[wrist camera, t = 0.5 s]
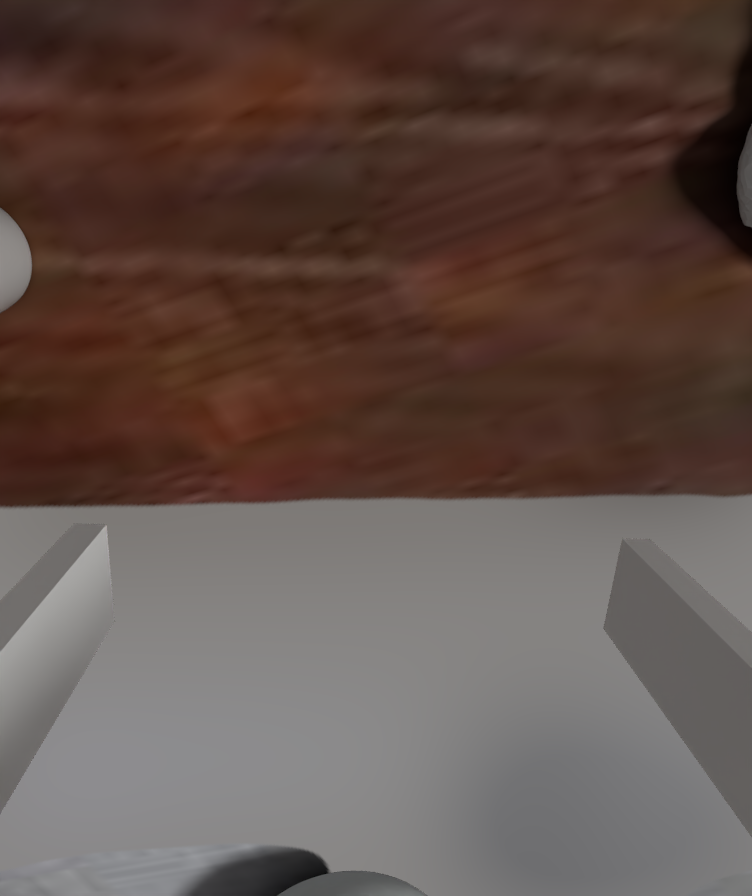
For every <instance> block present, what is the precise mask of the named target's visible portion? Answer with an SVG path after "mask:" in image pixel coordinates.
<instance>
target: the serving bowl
mask: <svg viewBox="0 0 752 896" xmlns="http://www.w3.org/2000/svg"><path fill="white" fill-rule="evenodd" d="M277 896H427V895H426V894H425V893H423V892H422V891H420V890H419V889H417V888H416V887H414V886H412V885H410V884H409V883H407V882H404V881H402V880H400V879H397V878H395V877H391V876H388V875H384V874H379V873H375V872H367V871H342V872H334V873H329V874H324V875H320V876H317V877H313V878H310V879H308V880H305V881H302V882H300V883H298V884H296V885H294V886H292V887H290V888H288V889H287V890H285V891H283V892H282V893H280V894H279V895H277Z"/></svg>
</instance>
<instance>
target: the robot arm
mask: <svg viewBox="0 0 752 896" xmlns="http://www.w3.org/2000/svg"><path fill="white" fill-rule="evenodd" d="M114 621H115V620H114V608H113V597H112V584H111V572H110V561H109V549H108V536H107V525H106V524H73V525H72V526H71V527H70V528H69V529H68V531H67V532H66V533H65V534H64V535H63V536H62V537H61V538H60V539H59V540H58V541H57V542H56V543H55V544H54V545H53V546H52V547H51V548H50V549H49V550H48V551H47V553H45V555H44V556H43V557H42V558H41V559H40V560H39V561H38V562H37V563H36V564H35V565H34V566H33V567H32V568H31V569H30V570H29V571H28V572H27V573H26V574H25V575H24V577H23V578H22V579H21V580H20V581H19V582H18V583H17V584H16V585H15V586H14V587H13V588H12V589H11V590H10V591H9V592H8V593H7V594H6V595H5V596H4V597H3V599H2V600H1V601H0V813H1V812H2V810H3V808H4V807H5V805H6V803H7V801H8V800H9V798H10V796H11V795H12V793H13V791H14V790H15V788H16V786H17V785H18V783H19V781H20V780H21V778H22V776H23V775H24V773H25V771H26V769H27V768H28V766H29V764H30V763H31V761H32V759H33V758H34V756H35V754H36V753H37V751H38V749H39V748H40V746H41V744H42V743H43V741H44V739H45V738H46V736H47V734H48V732H49V731H50V729H51V727H52V726H53V724H54V722H55V720H56V719H57V717H58V716H59V714H60V712H61V711H62V709H63V707H64V706H65V704H66V702H67V700H68V699H69V697H70V695H71V694H72V692H73V690H74V689H75V687H76V685H77V684H78V682H79V680H80V679H81V677H82V675H83V674H84V672H85V670H86V669H87V667H88V665H89V663H90V662H91V660H92V658H93V657H94V655H95V653H96V652H97V650H98V648H99V647H100V645H101V643H102V642H103V640H104V638H105V637H106V635H107V633H108V631H109V630H110V628H111V626H112V625H113V623H114ZM604 630H605V631H606V633H607V634H608V635H609V637H610V638H611V640H612V641H613V642H614V644H615V645H616V647H617V648H618V650H619V651H620V652H621V654H622V655H623V657H624V658H625V659H626V661H627V662H628V664H629V665H630V666H631V668H632V669H633V671H634V672H635V674H636V675H637V676H638V678H639V679H640V681H641V682H642V683H643V685H644V686H645V688H646V689H647V690H648V692H649V693H650V694H651V696H652V697H653V699H654V700H655V702H656V703H657V704H658V706H659V707H660V709H661V710H662V711H663V713H664V714H665V716H666V717H667V719H668V720H669V721H670V723H671V724H672V726H673V727H674V728H675V730H676V731H677V733H678V734H679V735H680V737H681V738H682V740H683V741H684V743H685V744H686V745H687V747H688V748H689V750H690V751H691V752H692V754H693V755H694V757H695V758H696V759H697V760H698V762H699V764H701V766H702V768H703V769H704V770H705V772H706V773H707V775H708V776H709V778H710V779H711V781H712V782H713V783H714V785H715V786H716V788H717V789H718V790H719V792H720V793H721V794H722V796H723V797H724V799H725V800H726V802H727V803H728V804H729V806H730V807H731V809H732V810H733V811H734V813H735V814H736V816H737V817H738V818H739V820H740V821H741V823H742V824H743V826H744V827H745V828H746V830H747V831H748V833H749V834H750V835H751V837H752V632H751V631H750V630H748V629H747V628H746V627H745V626H744V625H743V624H742V623H741V622H740V621H738V619H737V618H735V617H734V616H733V615H732V614H731V613H730V612H729V611H728V610H727V609H726V608H725V607H723V606H722V605H721V604H720V603H719V602H718V601H717V600H716V599H715V598H714V597H713V596H711V595H710V594H709V593H708V592H707V591H706V590H705V589H704V588H703V587H702V586H701V585H699V584H698V583H697V582H696V581H695V580H694V579H693V578H692V577H691V576H690V575H689V574H687V573H686V572H685V571H684V570H683V569H682V568H681V567H680V566H679V565H677V564H676V563H675V562H674V561H673V560H672V559H671V558H670V557H669V556H668V555H667V554H665V553H664V552H663V551H662V550H661V549H660V548H659V547H658V546H657V545H656V544H654V542H652V541H651V540H650V539H622V542H621V547H620V552H619V556H618V561H617V567H616V571H615V576H614V581H613V586H612V590H611V595H610V600H609V604H608V609H607V614H606V619H605V624H604Z"/></svg>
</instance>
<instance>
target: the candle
mask: <svg viewBox="0 0 752 896" xmlns="http://www.w3.org/2000/svg"><path fill="white" fill-rule="evenodd" d="M31 272H32V259H31V253H30V249H29V245H28V243H27V240H26V238H25V236H24V234H23V232H22V231H21V229H20V227H19V226H18V225H17V223H16V222H15V221H14V220H13V219H12V218H11V217H10V216H9V215H8V214H7V213H6V212H5V211H4V210H3V209H1V208H0V313H2V312H3V311H5V310H7V309H8V308H10V307H11V306H12V305H14V304H15V303H16V302H17V301H18V300H19V299H20V298H21V297H22V295H23V294H24V292H25V291H26V289H27V287H28V284H29V281H30V278H31Z"/></svg>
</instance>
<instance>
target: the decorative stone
mask: <svg viewBox="0 0 752 896" xmlns="http://www.w3.org/2000/svg"><path fill="white" fill-rule="evenodd" d="M737 174H738V179H737V198H738V201H739V211H740V217H741V219H742V221H743V224H744V225H745V226H748V227H752V124H751V127H750V129H749V131H748V134H747V138H746V142H745V145H744V148H743V150H742V153H741V155H740V158H739V162H738V172H737Z"/></svg>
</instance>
